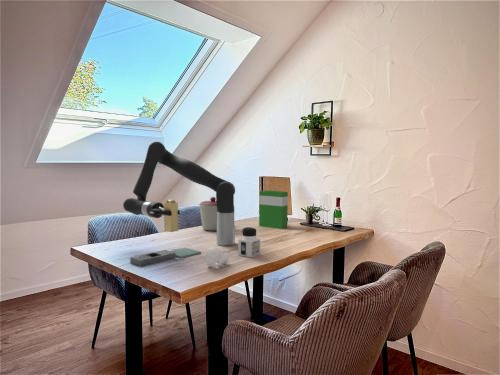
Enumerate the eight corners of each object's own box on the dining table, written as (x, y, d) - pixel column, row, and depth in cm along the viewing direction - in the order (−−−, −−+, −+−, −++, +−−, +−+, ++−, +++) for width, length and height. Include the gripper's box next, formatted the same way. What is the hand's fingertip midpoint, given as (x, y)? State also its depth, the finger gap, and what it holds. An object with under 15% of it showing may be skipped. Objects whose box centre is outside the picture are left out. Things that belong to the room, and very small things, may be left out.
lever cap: (171, 229, 169) (171, 199, 168) (178, 230, 166) (177, 200, 164) (164, 230, 166) (163, 200, 165) (171, 232, 163) (170, 200, 161)
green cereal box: (259, 226, 246) (259, 191, 244) (264, 224, 252) (265, 190, 250) (281, 229, 236) (282, 192, 234) (287, 227, 242) (287, 191, 240)
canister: (211, 225, 245) (211, 194, 243) (232, 229, 234) (232, 196, 233) (192, 229, 230) (192, 197, 229) (214, 233, 220) (214, 199, 218)
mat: (185, 249, 181) (185, 247, 181) (201, 253, 173) (201, 251, 173) (165, 253, 172) (165, 251, 172) (180, 258, 164) (180, 256, 164)
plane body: (165, 254, 169) (165, 249, 169) (175, 258, 164) (175, 252, 164) (130, 262, 156) (130, 257, 156) (140, 266, 151) (140, 260, 151)
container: (251, 257, 166) (252, 230, 165) (237, 255, 170) (238, 228, 169) (260, 254, 173) (260, 227, 172) (246, 251, 177) (246, 225, 176)
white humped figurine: (203, 247, 150) (222, 244, 159) (202, 267, 150) (221, 263, 159) (214, 249, 146) (233, 246, 156) (213, 270, 146) (232, 266, 156)
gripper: (139, 203, 169) (161, 206, 157) (164, 200, 179) (187, 203, 168) (140, 218, 169) (162, 223, 158) (165, 215, 180) (187, 219, 169)
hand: (175, 212), depth 163 cm, fingers closed on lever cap, 4 cm apart
